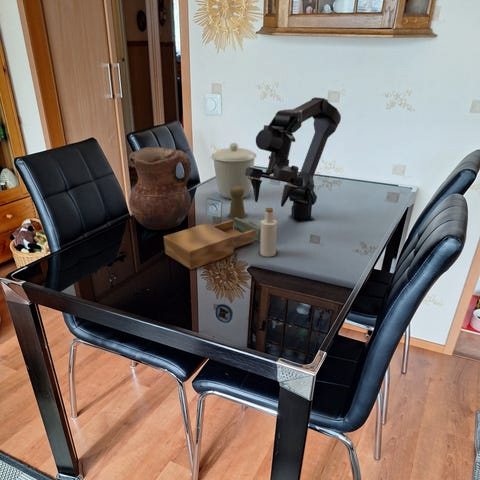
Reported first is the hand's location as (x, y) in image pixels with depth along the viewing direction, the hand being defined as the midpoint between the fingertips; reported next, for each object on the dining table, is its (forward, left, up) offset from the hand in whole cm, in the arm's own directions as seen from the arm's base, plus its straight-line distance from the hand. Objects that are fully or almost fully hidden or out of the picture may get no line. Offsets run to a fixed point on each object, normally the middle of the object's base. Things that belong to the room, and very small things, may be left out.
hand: (269, 204), depth 142 cm
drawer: (+12, +1, -10) cm, 16 cm away
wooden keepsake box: (+26, +6, -11) cm, 29 cm away
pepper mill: (+5, -21, -11) cm, 24 cm away
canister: (-1, -44, -11) cm, 46 cm away
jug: (+33, -23, -11) cm, 41 cm away
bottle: (+5, +13, -11) cm, 18 cm away
